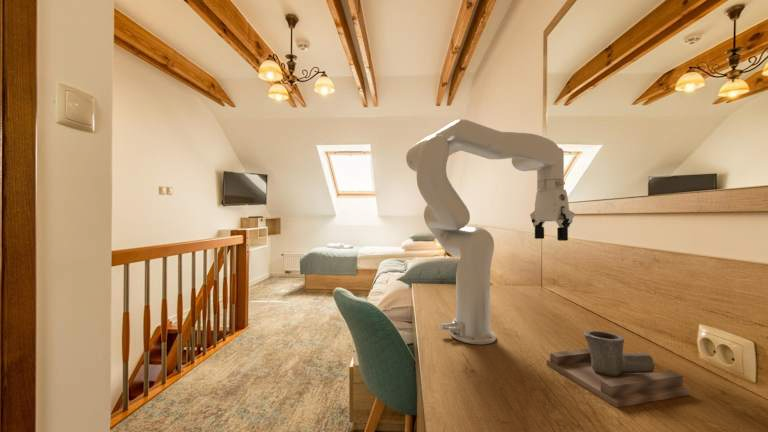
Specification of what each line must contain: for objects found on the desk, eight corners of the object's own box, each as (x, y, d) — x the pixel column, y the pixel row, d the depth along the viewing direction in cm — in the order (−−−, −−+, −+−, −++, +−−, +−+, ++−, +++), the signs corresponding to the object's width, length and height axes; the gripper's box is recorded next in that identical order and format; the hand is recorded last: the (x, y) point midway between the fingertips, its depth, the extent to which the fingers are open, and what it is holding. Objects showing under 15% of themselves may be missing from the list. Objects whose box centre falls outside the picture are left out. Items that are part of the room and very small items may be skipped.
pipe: (661, 381, 59) (660, 342, 59) (594, 378, 59) (594, 339, 60) (636, 367, 65) (636, 330, 65) (577, 364, 66) (577, 328, 66)
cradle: (616, 407, 52) (616, 389, 52) (546, 364, 68) (546, 350, 68) (689, 394, 56) (689, 378, 56) (607, 357, 72) (607, 344, 72)
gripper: (583, 183, 86) (583, 241, 86) (540, 189, 103) (540, 238, 103) (561, 182, 85) (562, 241, 84) (522, 189, 102) (522, 238, 101)
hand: (550, 239), depth 93 cm, fingers open, 9 cm apart
